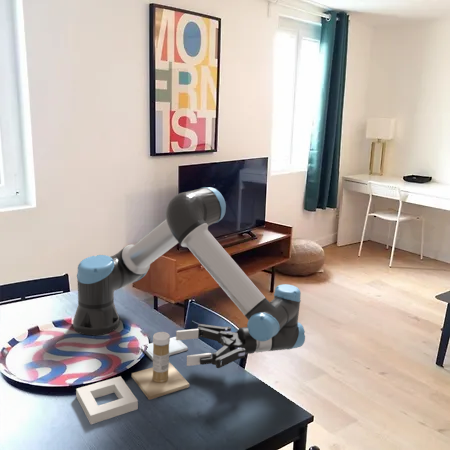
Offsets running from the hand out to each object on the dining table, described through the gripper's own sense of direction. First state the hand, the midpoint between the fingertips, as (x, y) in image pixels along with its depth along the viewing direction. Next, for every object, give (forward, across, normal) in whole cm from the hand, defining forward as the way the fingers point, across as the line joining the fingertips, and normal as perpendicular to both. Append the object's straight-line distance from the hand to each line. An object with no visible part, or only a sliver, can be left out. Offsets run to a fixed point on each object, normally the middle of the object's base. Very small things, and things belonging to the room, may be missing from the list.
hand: (181, 347), depth 127 cm
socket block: (+20, -6, -10) cm, 24 cm away
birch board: (+6, 0, -10) cm, 12 cm away
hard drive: (+1, +17, -11) cm, 21 cm away
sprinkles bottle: (+6, 0, -10) cm, 11 cm away
